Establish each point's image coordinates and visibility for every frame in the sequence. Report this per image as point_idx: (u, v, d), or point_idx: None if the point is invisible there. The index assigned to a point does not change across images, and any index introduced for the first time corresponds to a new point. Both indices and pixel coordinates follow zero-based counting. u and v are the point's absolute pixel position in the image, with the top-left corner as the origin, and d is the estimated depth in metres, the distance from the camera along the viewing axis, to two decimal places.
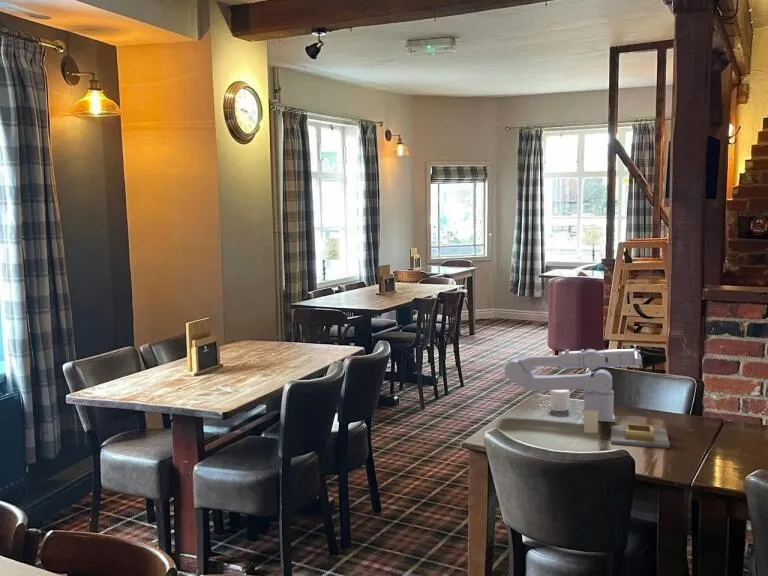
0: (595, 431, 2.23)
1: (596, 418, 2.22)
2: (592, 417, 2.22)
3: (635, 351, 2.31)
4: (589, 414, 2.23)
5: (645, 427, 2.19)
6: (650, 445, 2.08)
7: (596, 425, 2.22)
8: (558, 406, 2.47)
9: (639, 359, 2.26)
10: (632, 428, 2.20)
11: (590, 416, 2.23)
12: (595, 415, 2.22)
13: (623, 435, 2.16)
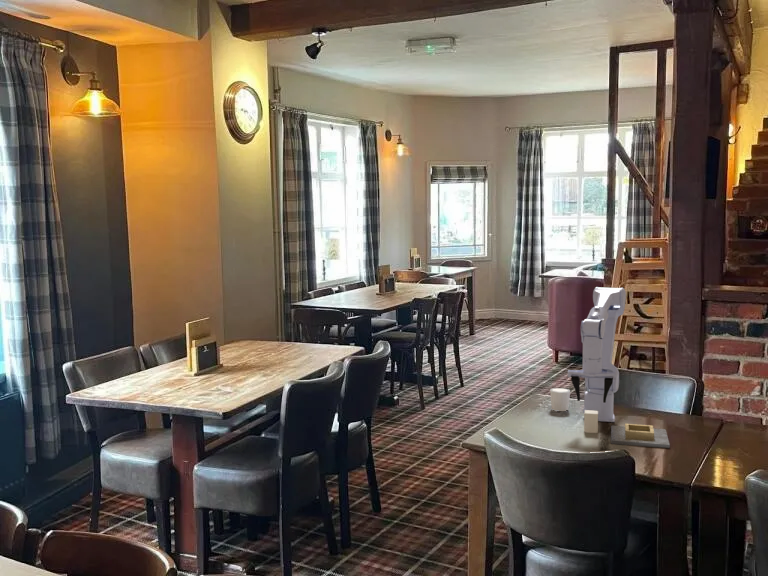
0: (595, 431, 2.23)
1: (596, 418, 2.22)
2: (592, 417, 2.22)
3: (583, 374, 2.22)
4: (589, 414, 2.23)
5: (645, 427, 2.19)
6: (650, 445, 2.08)
7: (596, 425, 2.22)
8: (558, 406, 2.47)
9: None
10: (632, 428, 2.20)
11: (590, 416, 2.23)
12: (595, 415, 2.22)
13: (623, 435, 2.16)
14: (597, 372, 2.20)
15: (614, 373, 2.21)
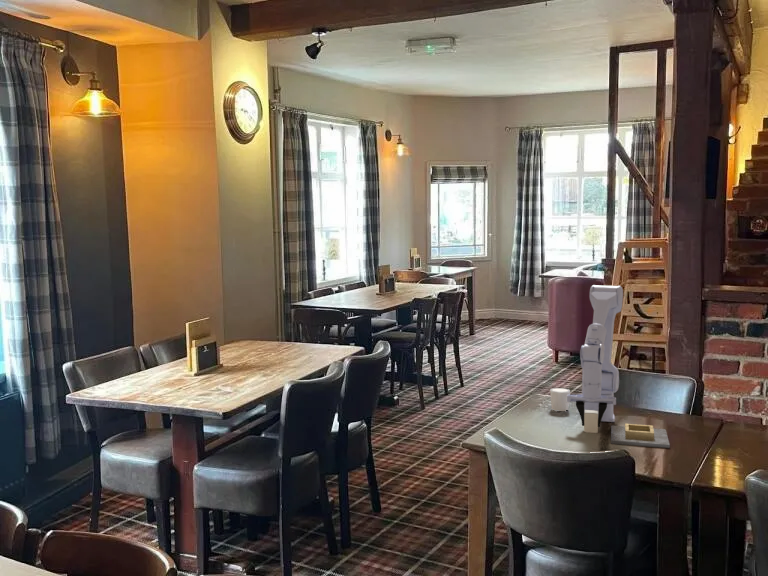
0: (595, 431, 2.23)
1: (596, 418, 2.22)
2: (592, 417, 2.22)
3: (583, 399, 2.22)
4: (589, 414, 2.23)
5: (645, 427, 2.19)
6: (650, 445, 2.08)
7: (596, 425, 2.22)
8: (558, 406, 2.47)
9: (567, 399, 2.26)
10: (632, 428, 2.20)
11: (590, 416, 2.23)
12: (595, 415, 2.22)
13: (623, 435, 2.16)
14: (597, 397, 2.21)
15: (613, 398, 2.22)
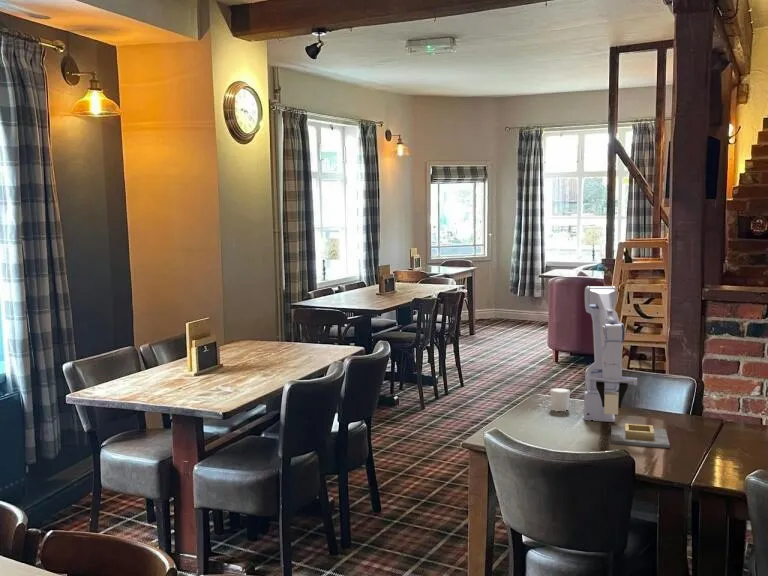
0: (615, 412, 2.18)
1: (617, 399, 2.18)
2: (612, 398, 2.18)
3: (603, 379, 2.18)
4: (609, 395, 2.18)
5: (645, 427, 2.19)
6: (650, 445, 2.08)
7: (616, 406, 2.18)
8: (558, 406, 2.47)
9: (587, 380, 2.22)
10: (632, 428, 2.20)
11: (610, 397, 2.18)
12: (615, 396, 2.18)
13: (623, 435, 2.16)
14: (617, 377, 2.17)
15: (635, 378, 2.18)
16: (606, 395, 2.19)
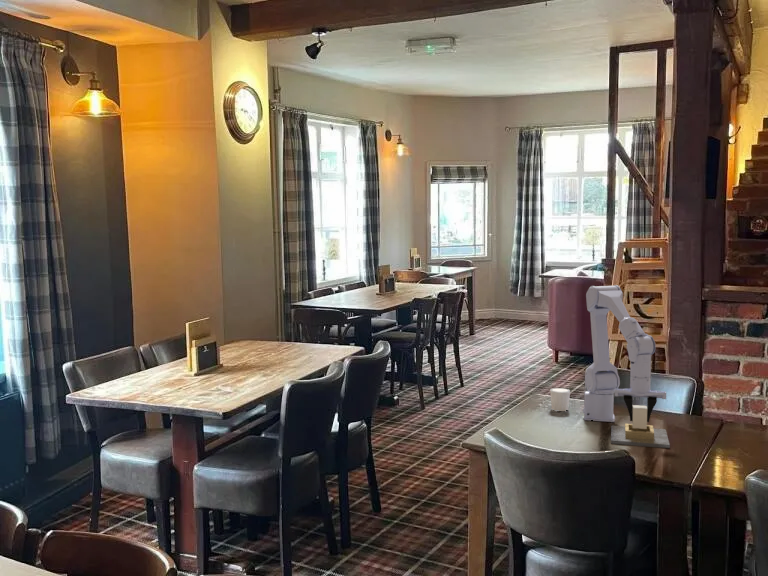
0: (644, 427, 2.14)
1: (645, 413, 2.14)
2: (641, 412, 2.14)
3: (631, 393, 2.14)
4: (638, 409, 2.14)
5: None
6: (650, 445, 2.08)
7: (645, 421, 2.14)
8: (558, 406, 2.47)
9: None
10: (632, 428, 2.20)
11: (639, 411, 2.14)
12: (644, 410, 2.14)
13: (623, 435, 2.16)
14: (646, 391, 2.13)
15: (663, 392, 2.13)
16: (634, 409, 2.14)
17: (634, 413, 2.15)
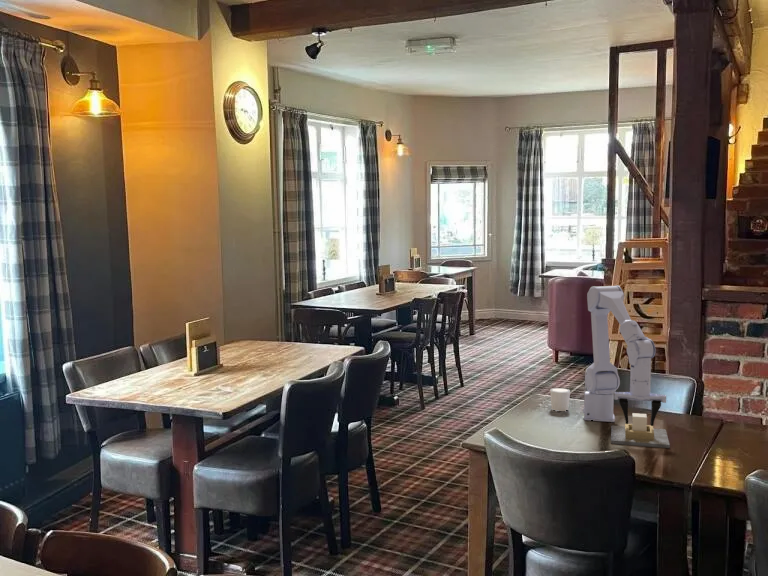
0: None
1: (645, 422, 2.14)
2: (641, 421, 2.14)
3: (631, 396, 2.14)
4: (638, 417, 2.14)
5: None
6: (650, 445, 2.08)
7: (645, 429, 2.14)
8: (558, 406, 2.47)
9: (614, 397, 2.17)
10: None
11: (639, 419, 2.14)
12: (644, 418, 2.14)
13: (623, 435, 2.16)
14: (646, 395, 2.13)
15: (663, 396, 2.14)
16: (634, 417, 2.15)
17: (634, 421, 2.15)
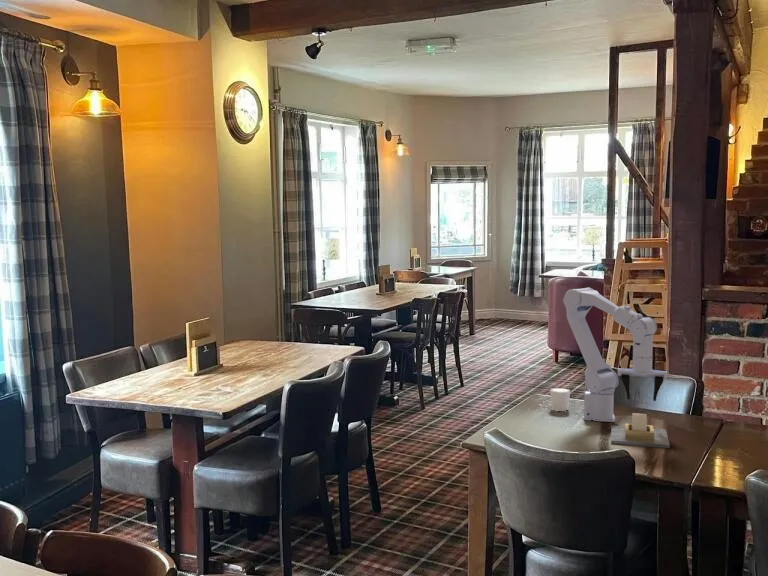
0: None
1: (645, 422, 2.14)
2: (641, 421, 2.14)
3: (634, 372, 2.23)
4: (638, 417, 2.14)
5: None
6: (650, 445, 2.08)
7: (645, 429, 2.14)
8: (558, 406, 2.47)
9: None
10: None
11: (639, 419, 2.14)
12: (644, 418, 2.14)
13: (623, 435, 2.16)
14: (648, 371, 2.22)
15: (665, 372, 2.23)
16: (634, 417, 2.15)
17: (634, 421, 2.15)
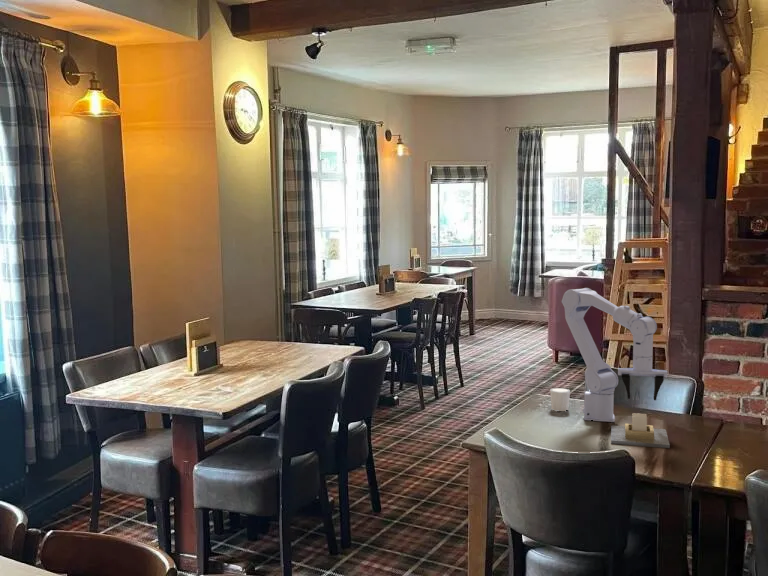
0: None
1: (645, 422, 2.14)
2: (641, 421, 2.14)
3: (634, 372, 2.24)
4: (638, 417, 2.14)
5: None
6: (650, 445, 2.08)
7: (645, 429, 2.14)
8: (558, 406, 2.47)
9: (618, 373, 2.27)
10: None
11: (639, 419, 2.14)
12: (644, 418, 2.14)
13: (623, 435, 2.16)
14: (648, 370, 2.23)
15: (665, 371, 2.23)
16: (634, 417, 2.15)
17: (634, 421, 2.15)
